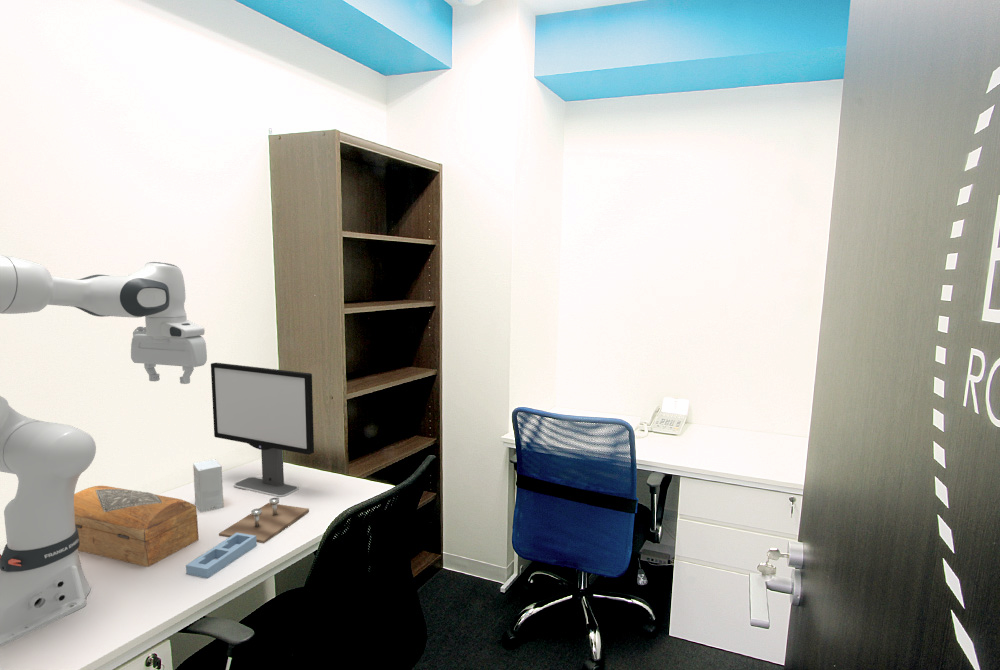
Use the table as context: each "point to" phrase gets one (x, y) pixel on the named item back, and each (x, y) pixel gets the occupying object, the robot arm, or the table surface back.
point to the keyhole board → (267, 522)
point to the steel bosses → (259, 511)
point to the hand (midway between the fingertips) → (169, 382)
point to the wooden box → (133, 524)
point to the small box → (208, 485)
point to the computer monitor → (264, 418)
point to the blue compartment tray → (221, 555)
